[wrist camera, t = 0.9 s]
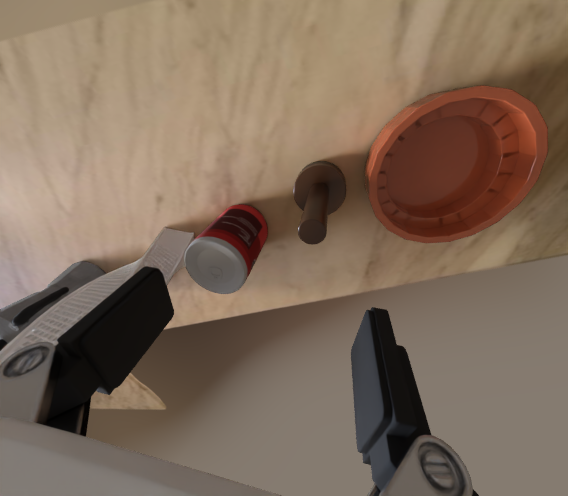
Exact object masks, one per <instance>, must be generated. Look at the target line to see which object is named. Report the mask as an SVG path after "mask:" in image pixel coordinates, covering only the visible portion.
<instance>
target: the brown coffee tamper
mask: <svg viewBox="0 0 568 496" xmlns="http://www.w3.org/2000/svg"><path fill="white" fill-rule="evenodd" d="M345 195H346V185H345V179H344V176H343V173H342V172H341V170H340V169H339V168H338V167H337V166H335V165H334V164H332V163H330V162H326V161H317V162H313V163H311V164H309V165H307V166H306V167H305V168H304V169H303V170H302V171H301V172H300V174H299V175H298V177H297V179H296V182H295V184H294V198H295V201H296V203H297V205H298V206H299V207H300V208H301V209H302V210H303V214H302V217H301V221H300V224H299V228H298V235H299V237H300V239H301V240H302V241H303V242H305V243H307V244H318V243H320V242H321V241H323V240H324V238H325V237H326V232H327V216H328V215H329V214H331V213H333V212H335V211H336V210H337V209H338V208H339V207H340V206H341V205H342V203H343V201H344V199H345Z"/></svg>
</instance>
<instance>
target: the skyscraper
mask: <svg viewBox="0 0 568 496" xmlns="http://www.w3.org/2000/svg"><path fill="white" fill-rule="evenodd" d="M193 240H194V232H192V233H189V232H184V231H179V230H173V229H168V228H166V227H164V228H163V229H162V230H161V232H160V233H159V235H158V236H157V237H156V239H155V240H154V241H153V243H152V244H151V246H150V247H149V248H148V250H147V251H146V252H145V254H144V255H143V257H141V258H140V259H139V260H137V261H136V262H133V263H131V264H128V265H125V266H123V267H120V268H118V269H116V270H113V271H111V272H109V273H107V274H105V275H103V276H100V277H98V278H96V279H95V280H93V281H91V282H89V283H87V284H85V285H84V286H82V287H80V288H78V289H77V290H75V291H74V292H72V293H71V294H69V295H68V296H66V297H64V298H63V299H62V300H60V301H59V302H58V303H56V304H55V305H53V306H52V307H51V308H49V309H48V310H47V311H46V312H44V313H43V314H42V315H41V316H39V317H38V318H37V319H36V320H35V321H33V322H32V323H31V324H30V325H29V326H28V327H26V328H25V329H24V330H23V331H22V332H21V333H20V334H18V335H17V336H16V337H15V338H14V339H13V340H12V341H11V342H10V343H9V344H7V345H6V346H5V347H4V348H3V349H2V350H1V351H0V365H1V363H2V362H4V361H5V360H6V359H7V358H8V357H9V356H10V355H12V354H13V353H15V352H16V351H18V350H20V349H22V348H24V347H26V346H28V345H31V344H34V343H38V342H50V343H52V344H53V345H54V346H56V345H57V344H58V341H57V339H58V338H59V337H60V336H61V335H63V334H64V333H65V332H66V331H67V330H69V329H70V328H71V327H72V326H73V325H75V324H76V323H77V322H78V321H79V320H81V319H82V318H83V317H84V316H85V315H87V314H88V313H89V312H90V311H91V310H93V309H94V308H95V307H96V306H97V305H98V304H100V303H101V302H102V301H103V300H104V299H106V298H107V297H108V296H109V295H110V294H112V293H113V292H114V291H115V290H116V289H118V288H119V287H120V286H121V285H122V284H124V283H125V282H126V281H127V280H128V279H130V278H131V277H132V276H133V275H134V274H136V273H137V272H138V271H139V270H140V269H142V268H143V267H145V266H148V267H153V268H158V269H160V271H161V272H162V273H163V276H164V279H165V282H166V286H167V285H168V283H169V281H170V280H171V278H172V276H173V275H174V273H176V272H177V271H179V270H180V269H182V268H183V267H185V262H184V255H185V251H186V249H187V248H188V246H189V245H190V244H191V242H192V241H193Z"/></svg>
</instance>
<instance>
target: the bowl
mask: <svg viewBox="0 0 568 496" xmlns="http://www.w3.org/2000/svg"><path fill="white" fill-rule="evenodd" d="M547 153H548V127H547V125H546V123H545V121H544V119H543V117H542V116H541V114H540V112H539V110H538V108H537V106H536V105H535V104H534V103H533V102H531V101H530V100H528V99H526V98H525V97H523V96H522V95H520V94H519V93H517V92H515V91H514V90H512V89H507V88H499V87H491V86H484V85H481V86H472V87H465V88H458V89H453V90H448V91H443V92H438V93H434V94H430V95H428V96H426V97H424V98H422V99H420V100H418V101H416V102H414V103H413V104H411V105H409V106H407V107H405V108H404V109H403V110H402V111H401V112H399V113H398V114H397V115H396V116H395V117H394V118H393V119H392V120H391V121H390V122H389V123H387V124H386V125H385V127H384V128H383V129H382V131H381V132H380V134H379V136H378V137H377V139H376V140H375V142H374V143H373V145H372V146H371V149H370V152H369V155H368V158H367V162H366V165H365V189H366V191H367V194H368V197H369V199H370V202H371V205H372V208H373V210H374V213H375V216H376V217H377V218H378V219H379V220H380V222H381V223H382V224H383V225H384V226H385V227H386V228H387V229H388V230H389V231H391V232H393V233H395V234H396V235H398V236H400V237H402V238H404V239H407V240H412V241H417V242H422V243H437V242H450V241H454V240H457V239H461V238H464V237H468V236H471V235H473V234H476V233H478V232H479V231H481V230H483V229H485V228H487V227H489V226H491V225H493V224H495V223H497V222H498V221H499V220H501V219H502V218H503V217H504V216H505V215H507V214H508V213H509V212H510V211H511V210H513V209H514V208H515V207H516V206H517V205H519V204H520V203H521V202H522V200H523V199H524V198H525V196H526V195H527V194H528V192H529V191H530V190H531V188H532V187H533V186H534V184H535V183H536V182H537V179H538V178H539V175H540V172H541V170H542V167H543V164H544V162H545V159H546V156H547Z"/></svg>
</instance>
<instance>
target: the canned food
mask: <svg viewBox="0 0 568 496" xmlns="http://www.w3.org/2000/svg"><path fill="white" fill-rule="evenodd" d="M267 234H268V231H267V224H266V221H265V219H264V217H263V216H262V214H261V213H260V212H259V211H258V210H256V209H255V208H253V207H251V206H249V205H244V204H239V205H234V206H231V207H229V208H228V209H226V210H225V211H224V212H223V213H222V214H221V215H220V216H219V217H218V218H216V219H215V220H214V221H213V222H212V223H211V224H210V225H209V226H208V227H207V228H206V229H205V230H204V231H203V232H202V233H201V234H199V235H198V236H197V237H196V238H195V240H193V241H192V242H191V244H190V245H189V246H188V248H187V249H186V251H185V255H184V262H185V266H186V269H187V271H188V273H189V274H190V276H191V277H192V278H193V279H194V280H195V281H196V282H197V283H198V284H199V285H200V286H202V287H203V288H205V289H207V290H209V291H212V292H215V293H219V294H229V293H233V292H235V291H237V290H239V289H240V288H241V287H242V285H243V284H244V282H245V281H246V279H247V277H248V276H249V274H250V272H251V270H252V268H253V266H254V264H255V262H256V260H257V258H258V256H259V254H260V252H261V249H262V247H263V245H264V243H265V241H266V239H267Z"/></svg>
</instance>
